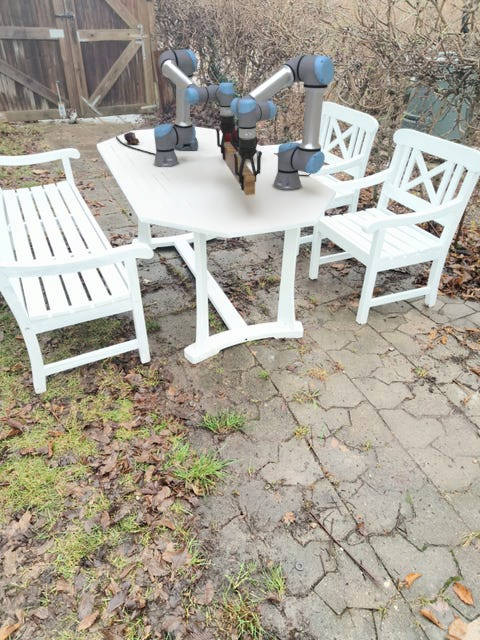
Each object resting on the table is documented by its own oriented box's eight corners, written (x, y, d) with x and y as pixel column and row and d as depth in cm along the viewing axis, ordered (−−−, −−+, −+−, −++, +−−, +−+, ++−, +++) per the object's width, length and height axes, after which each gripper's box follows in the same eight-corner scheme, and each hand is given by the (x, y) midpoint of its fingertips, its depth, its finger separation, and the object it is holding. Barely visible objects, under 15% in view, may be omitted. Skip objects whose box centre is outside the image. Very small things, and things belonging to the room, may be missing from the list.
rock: (136, 143, 345) (123, 144, 341) (134, 131, 342) (121, 132, 338) (140, 143, 336) (127, 145, 332) (139, 131, 332) (125, 132, 328)
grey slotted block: (198, 150, 320) (196, 121, 309) (173, 151, 319) (170, 122, 308) (198, 145, 335) (196, 116, 324) (174, 145, 334) (171, 117, 322)
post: (222, 157, 262) (222, 142, 257) (230, 157, 262) (229, 141, 258) (245, 195, 209) (245, 177, 205) (255, 194, 210) (255, 176, 205)
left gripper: (212, 117, 239) (214, 161, 252) (244, 115, 242) (244, 159, 255) (210, 114, 245) (212, 158, 258) (241, 113, 248) (242, 156, 261)
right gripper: (229, 140, 197) (230, 193, 210) (268, 138, 200) (267, 190, 213) (226, 137, 203) (228, 188, 216) (264, 134, 206) (263, 185, 219)
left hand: (228, 159), depth 257 cm, fingers closed on post, 4 cm apart
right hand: (247, 189), depth 214 cm, fingers closed on post, 4 cm apart
